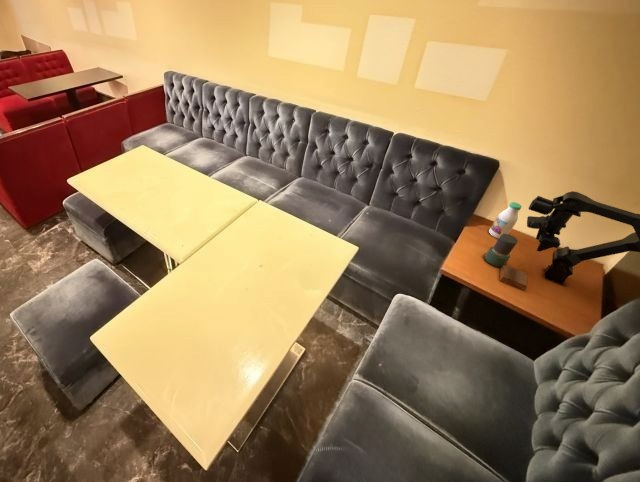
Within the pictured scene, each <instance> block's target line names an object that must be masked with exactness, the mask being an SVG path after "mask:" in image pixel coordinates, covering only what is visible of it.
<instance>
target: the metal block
mask: <svg viewBox="0 0 640 482" xmlns="http://www.w3.org/2000/svg"><path fill="white" fill-rule="evenodd" d="M499 272H500V275H499V282H502V283H504V284H507V285H509V286H512V287H514V288H517V289H519V290H522V291H524V290H525V289H526V288H527V286H528V277H527V276H528V274H527V272H525V271H521V270H519V269H517V268H514V267H511V266H509V265H506V264H505V265H503V266H502V267H501V268H500V271H499Z"/></svg>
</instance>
